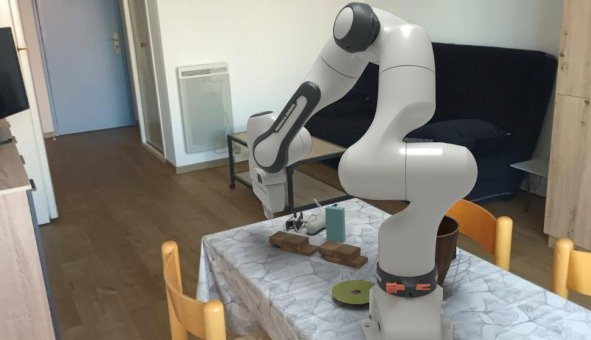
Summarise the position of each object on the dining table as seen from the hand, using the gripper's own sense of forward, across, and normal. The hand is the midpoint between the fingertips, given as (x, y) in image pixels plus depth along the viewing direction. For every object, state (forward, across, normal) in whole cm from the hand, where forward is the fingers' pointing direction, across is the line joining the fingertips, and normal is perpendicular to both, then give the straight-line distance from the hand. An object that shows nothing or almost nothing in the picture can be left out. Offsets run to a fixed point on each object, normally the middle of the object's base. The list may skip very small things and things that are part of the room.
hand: (269, 217), depth 161 cm
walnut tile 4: (+6, +13, +11) cm, 18 cm away
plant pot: (+8, +40, +26) cm, 48 cm away
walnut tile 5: (+8, +16, +12) cm, 21 cm away
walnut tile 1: (+6, +1, +1) cm, 6 cm away
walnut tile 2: (+8, +4, +3) cm, 9 cm away
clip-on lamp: (+5, -14, +24) cm, 28 cm away
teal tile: (+8, +6, +18) cm, 20 cm away
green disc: (+8, +38, +9) cm, 40 cm away
